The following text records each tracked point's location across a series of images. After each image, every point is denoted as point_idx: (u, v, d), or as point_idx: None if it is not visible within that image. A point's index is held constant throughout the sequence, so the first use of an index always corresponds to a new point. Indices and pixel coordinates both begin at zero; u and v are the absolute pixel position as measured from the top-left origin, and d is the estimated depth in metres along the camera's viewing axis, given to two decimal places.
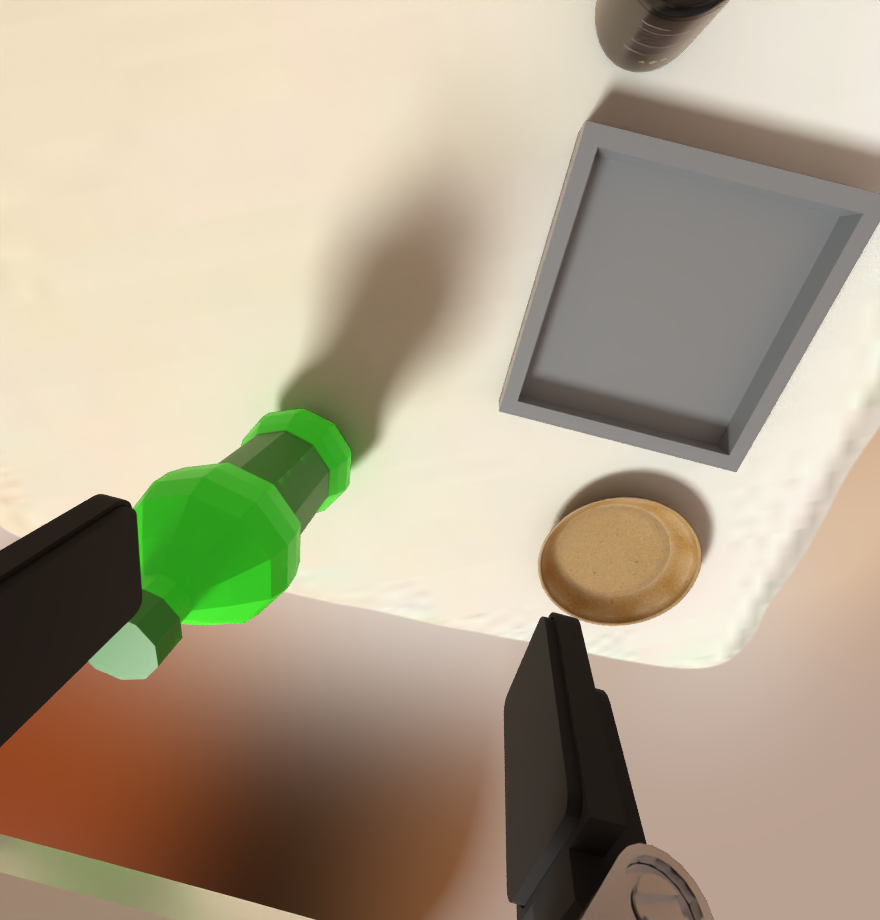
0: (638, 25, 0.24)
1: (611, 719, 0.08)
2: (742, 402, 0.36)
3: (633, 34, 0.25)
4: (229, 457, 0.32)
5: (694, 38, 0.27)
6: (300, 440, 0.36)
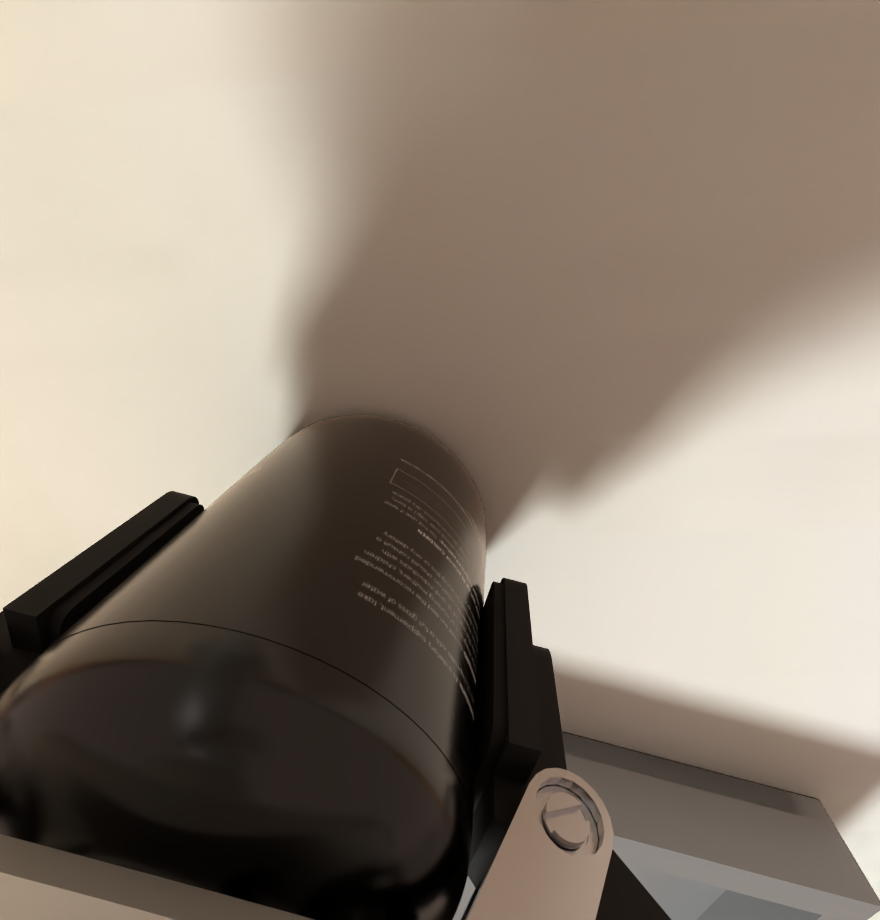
0: None
1: (551, 673, 0.09)
2: None
3: None
4: None
5: None
6: None
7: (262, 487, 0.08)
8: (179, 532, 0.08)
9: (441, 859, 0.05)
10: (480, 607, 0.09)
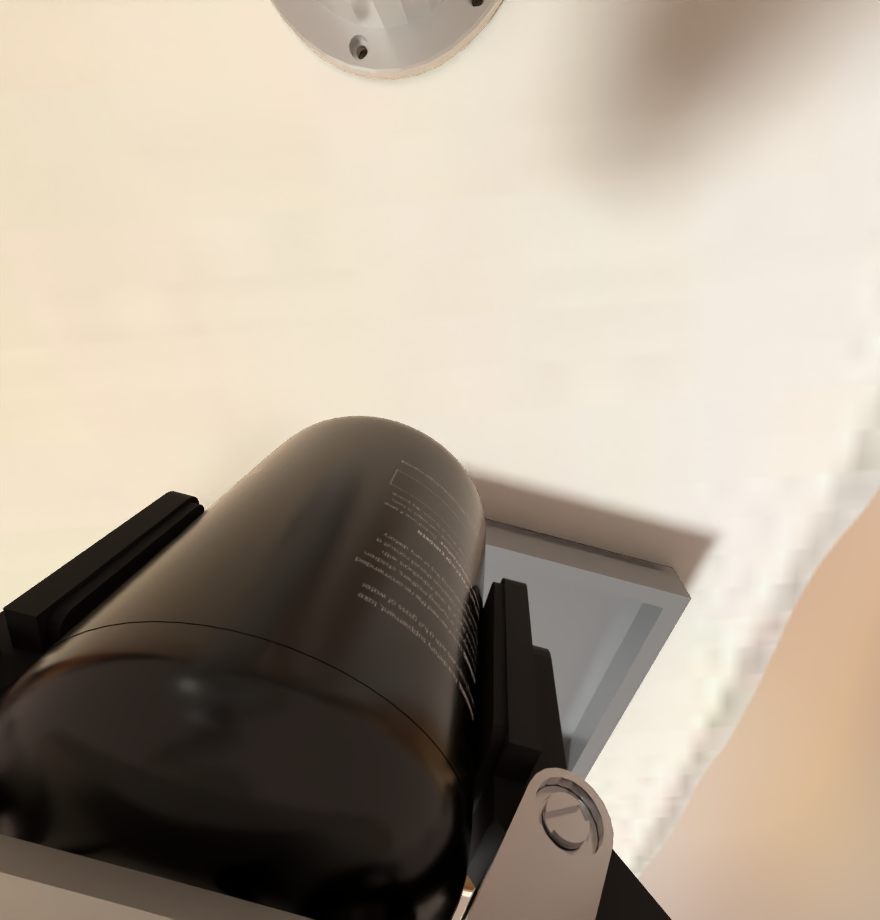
0: None
1: (551, 672, 0.09)
2: (580, 723, 0.35)
3: None
4: None
5: None
6: None
7: (262, 488, 0.08)
8: (180, 533, 0.08)
9: (441, 858, 0.05)
10: (480, 607, 0.09)
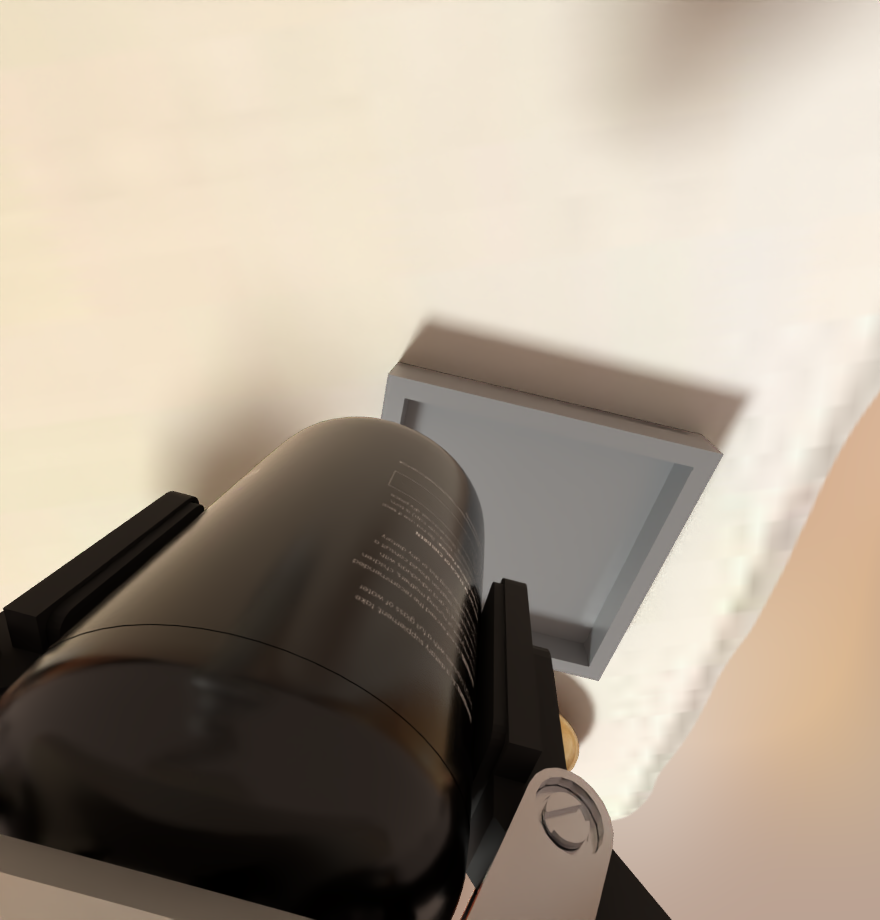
0: None
1: (551, 672, 0.09)
2: (602, 610, 0.34)
3: None
4: None
5: None
6: None
7: (259, 490, 0.08)
8: (177, 535, 0.08)
9: (438, 863, 0.05)
10: (478, 609, 0.09)
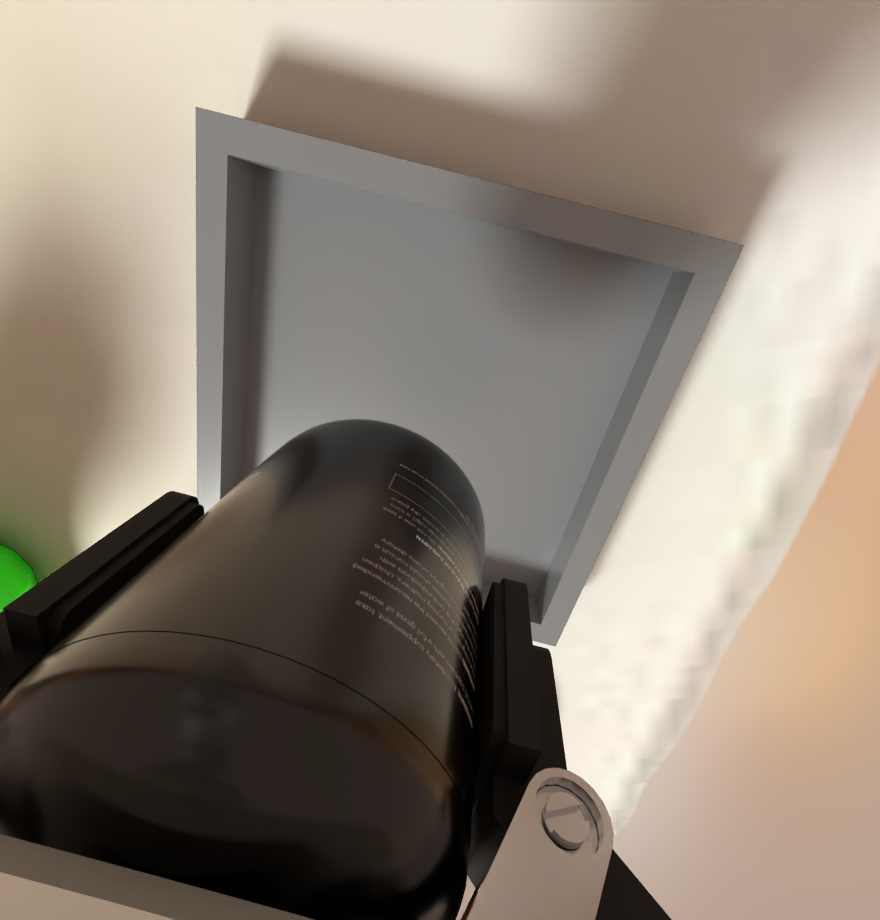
0: None
1: (551, 672, 0.09)
2: (561, 543, 0.24)
3: None
4: None
5: None
6: None
7: (259, 493, 0.08)
8: None
9: (439, 871, 0.05)
10: (479, 613, 0.09)
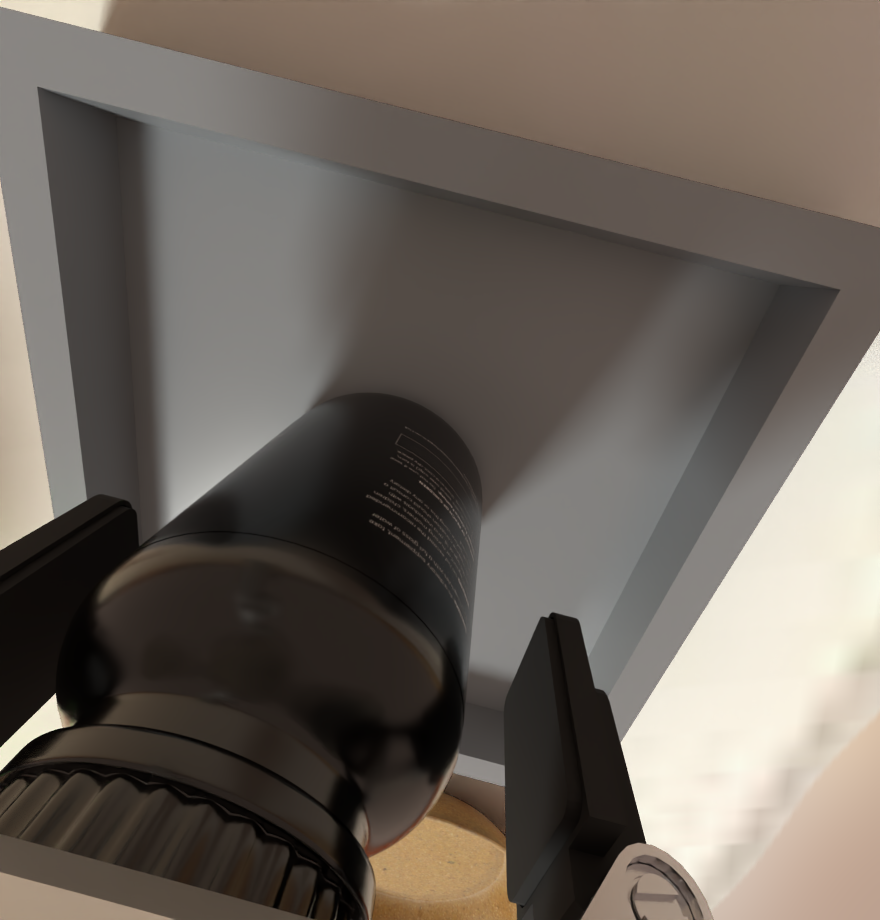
0: None
1: (611, 719, 0.08)
2: (589, 664, 0.17)
3: None
4: None
5: None
6: None
7: (286, 446, 0.10)
8: (217, 483, 0.09)
9: (437, 717, 0.06)
10: (474, 553, 0.11)
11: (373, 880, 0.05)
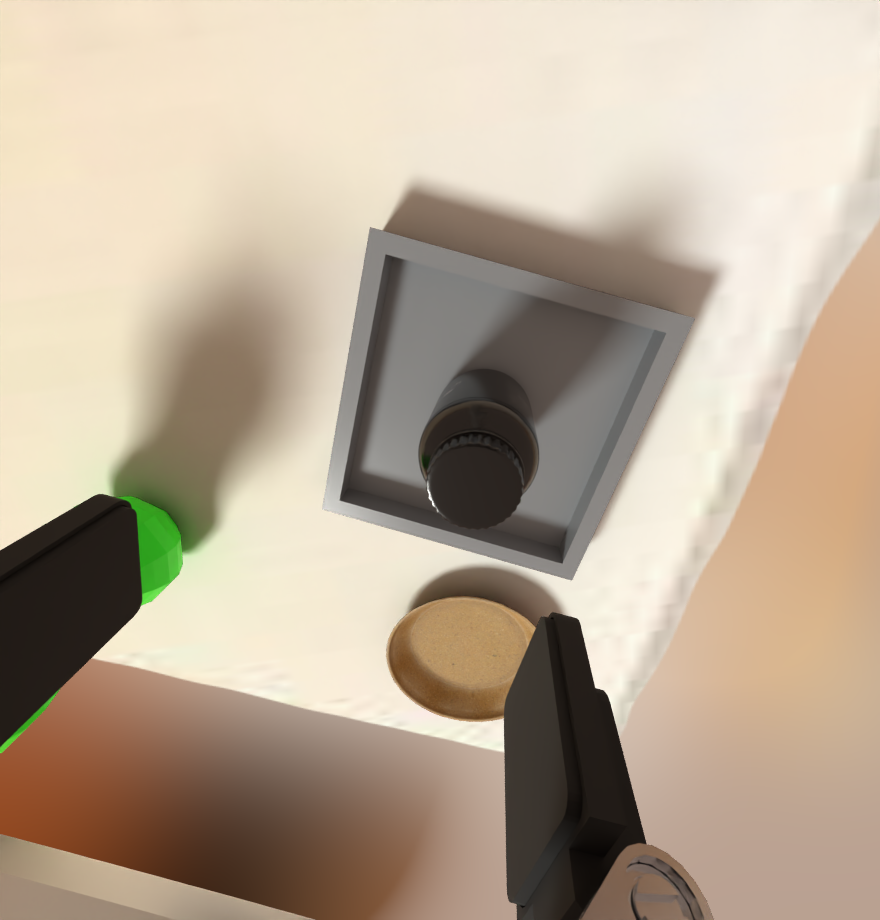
0: None
1: (611, 719, 0.08)
2: (577, 507, 0.34)
3: None
4: None
5: None
6: None
7: (470, 383, 0.27)
8: (448, 395, 0.27)
9: (535, 447, 0.24)
10: None
11: None
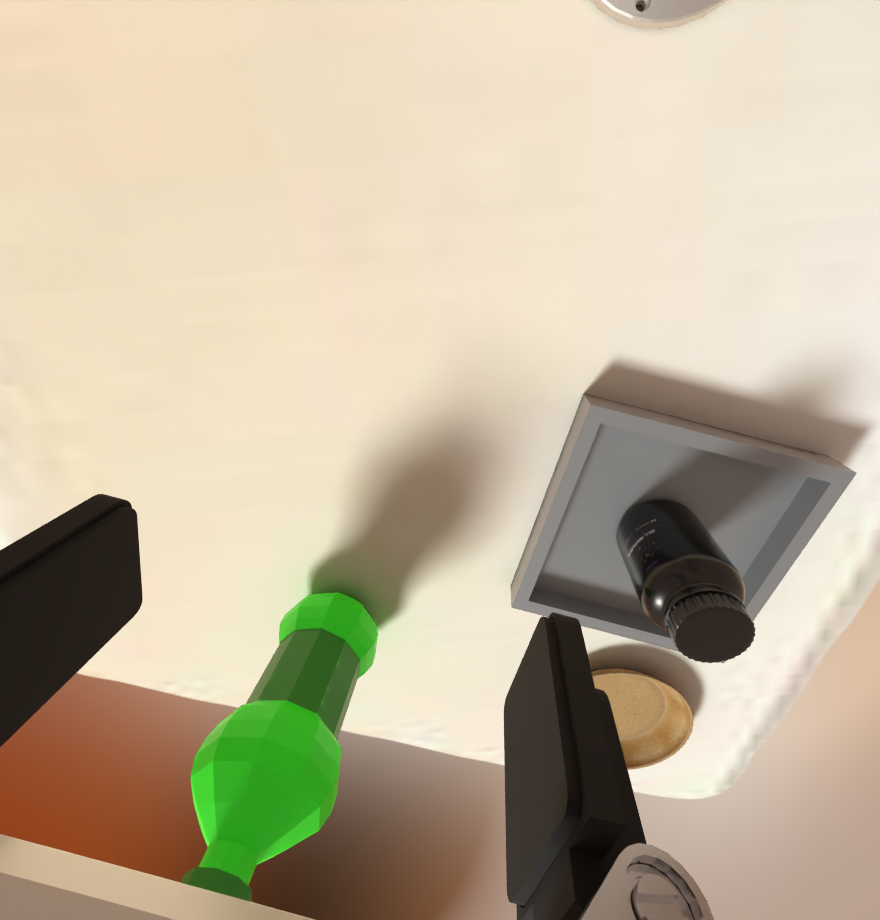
0: None
1: (611, 718, 0.08)
2: None
3: None
4: (275, 673, 0.37)
5: None
6: (334, 637, 0.41)
7: (671, 526, 0.34)
8: (655, 537, 0.33)
9: None
10: None
11: None
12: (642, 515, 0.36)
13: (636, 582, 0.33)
